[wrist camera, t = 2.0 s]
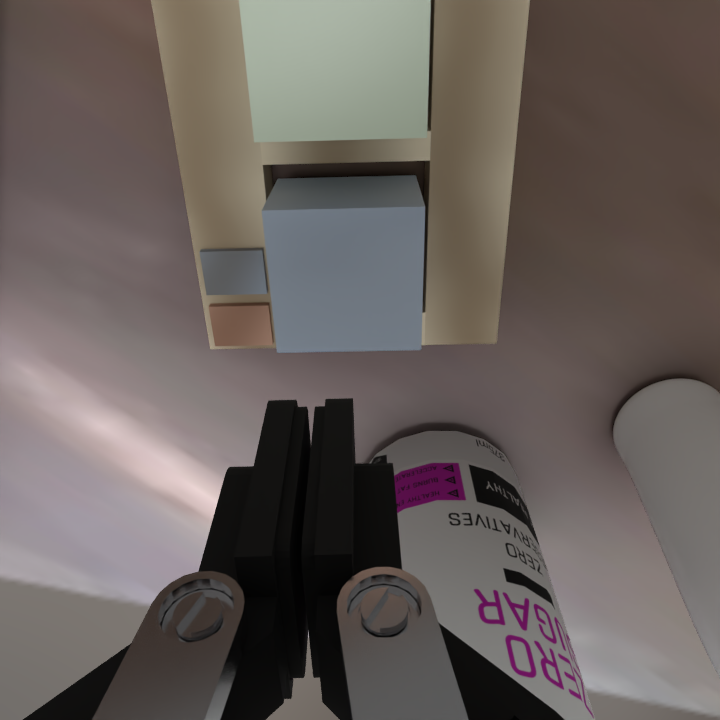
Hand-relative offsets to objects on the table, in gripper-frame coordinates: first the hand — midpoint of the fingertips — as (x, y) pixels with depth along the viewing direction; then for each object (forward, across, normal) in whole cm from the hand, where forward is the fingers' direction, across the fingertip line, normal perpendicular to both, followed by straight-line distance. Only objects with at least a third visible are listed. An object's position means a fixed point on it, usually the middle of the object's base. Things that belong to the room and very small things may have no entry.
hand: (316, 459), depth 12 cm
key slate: (+13, -1, 0) cm, 13 cm away
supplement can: (+15, -5, +14) cm, 21 cm away
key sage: (+13, -1, -7) cm, 15 cm away
